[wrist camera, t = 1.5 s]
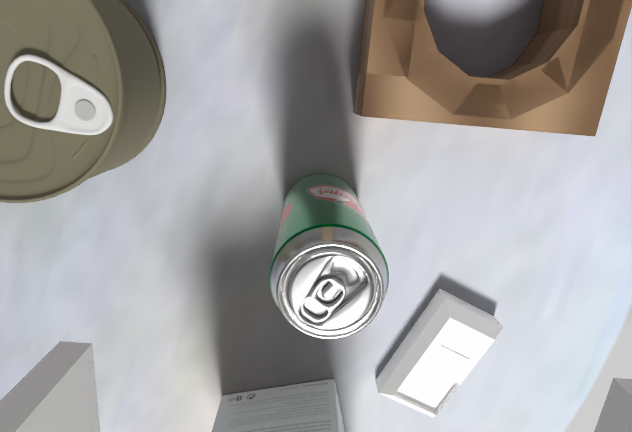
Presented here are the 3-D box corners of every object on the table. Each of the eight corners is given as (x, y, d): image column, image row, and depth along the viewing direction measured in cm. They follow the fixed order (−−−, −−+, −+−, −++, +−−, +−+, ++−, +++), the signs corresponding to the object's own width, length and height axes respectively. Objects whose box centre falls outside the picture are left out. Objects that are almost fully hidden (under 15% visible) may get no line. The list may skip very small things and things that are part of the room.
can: (-18, -67, 23) (-151, -132, 16) (192, 16, 24) (149, -11, 17) (-42, 137, 26) (-162, 153, 19) (144, 201, 27) (92, 236, 21)
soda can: (373, 202, 28) (420, 282, 16) (327, 257, 29) (339, 368, 17) (314, 156, 26) (319, 207, 15) (268, 215, 28) (241, 303, 16)
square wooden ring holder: (353, 112, 26) (361, 116, 22) (380, -136, 22) (395, -183, 18) (553, 129, 26) (595, 136, 22) (613, -109, 22) (675, -150, 19)
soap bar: (492, 313, 31) (508, 333, 28) (426, 400, 33) (436, 426, 30) (437, 285, 30) (449, 304, 27) (374, 376, 32) (380, 401, 30)
